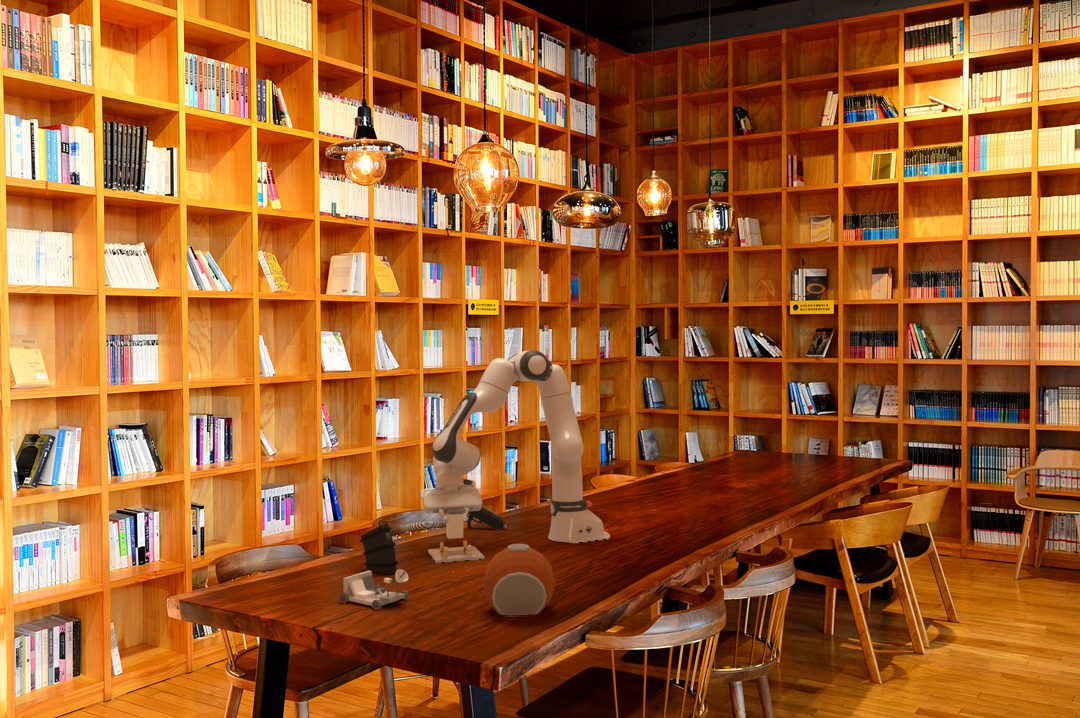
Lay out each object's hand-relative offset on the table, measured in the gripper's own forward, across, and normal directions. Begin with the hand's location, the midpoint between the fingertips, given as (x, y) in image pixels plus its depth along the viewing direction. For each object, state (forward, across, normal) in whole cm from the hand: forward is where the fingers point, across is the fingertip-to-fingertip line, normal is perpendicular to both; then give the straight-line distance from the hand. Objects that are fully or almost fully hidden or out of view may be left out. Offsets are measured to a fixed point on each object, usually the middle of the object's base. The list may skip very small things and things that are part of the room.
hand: (455, 521), depth 299 cm
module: (+3, 0, +4) cm, 5 cm away
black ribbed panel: (+17, -27, 0) cm, 32 cm away
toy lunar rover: (+41, -31, -23) cm, 56 cm away
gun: (-19, +20, +36) cm, 46 cm away
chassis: (+8, 0, +9) cm, 12 cm away
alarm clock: (+55, +4, -38) cm, 67 cm away
